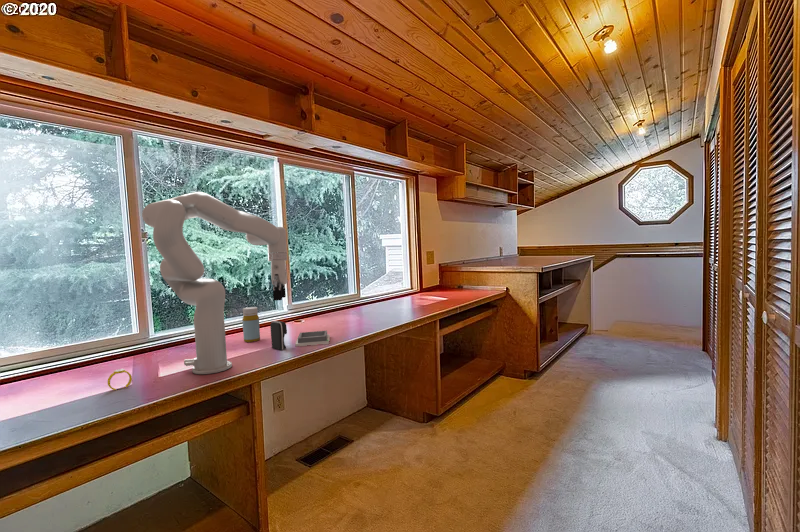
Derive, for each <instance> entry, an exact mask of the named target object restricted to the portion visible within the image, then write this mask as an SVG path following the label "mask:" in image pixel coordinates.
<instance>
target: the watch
mask: <svg viewBox="0 0 800 532" xmlns="http://www.w3.org/2000/svg"><path fill="white" fill-rule="evenodd" d="M122 373H126V374H127V375H128V377H129V379H128V382H127V384H126V385H125V386H126V387H127V388H128V387H129V386H130V385H131V383H132V381H133V378H132V375H131V373H130V372H129V371H127V370H125V368H119V369H115V370H113V372H112V373H111V374H110V375H109V376H108V378H107V386H108V388H110V389H111V390H113V391H115V390H116V388H114V387H113V386H112V385H111V380H112V378H113V377H114V376H115V375H117V374H118V375H119V374H122ZM116 391H117V390H116Z"/></svg>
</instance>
